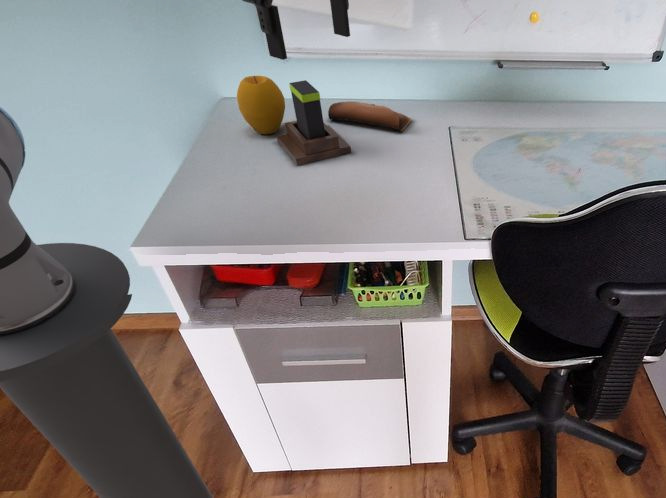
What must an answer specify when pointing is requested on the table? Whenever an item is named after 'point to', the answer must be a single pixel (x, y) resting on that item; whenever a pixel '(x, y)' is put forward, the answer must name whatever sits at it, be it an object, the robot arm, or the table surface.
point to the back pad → (307, 110)
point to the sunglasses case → (368, 114)
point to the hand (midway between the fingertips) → (312, 45)
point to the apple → (261, 104)
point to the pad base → (311, 145)
